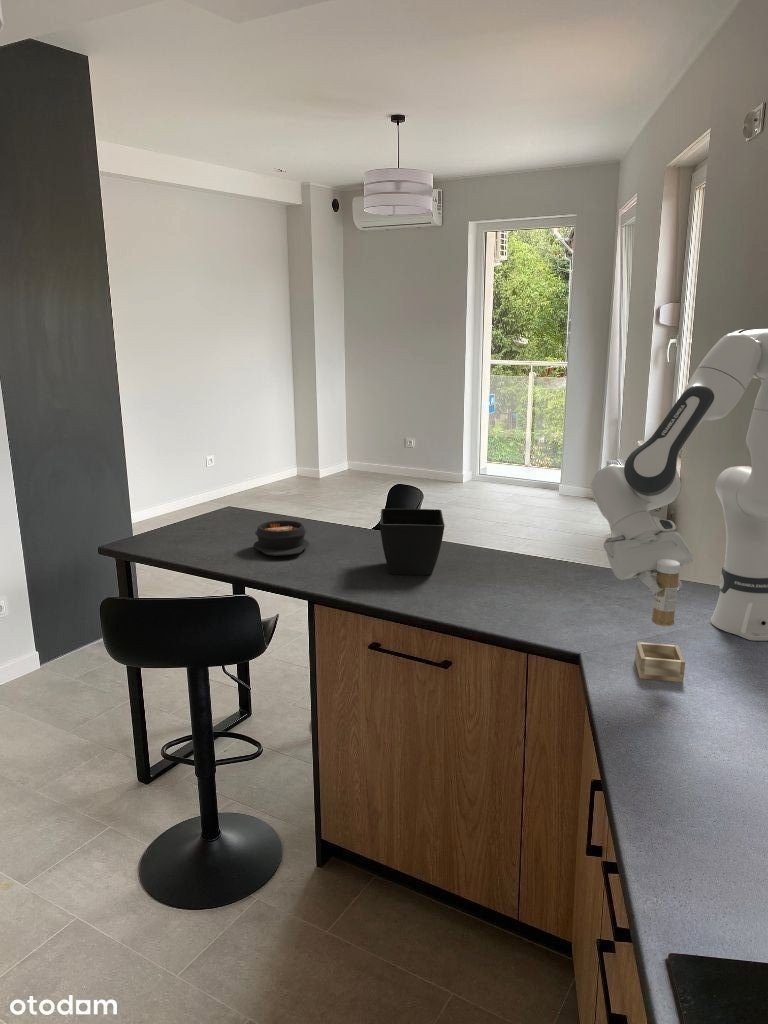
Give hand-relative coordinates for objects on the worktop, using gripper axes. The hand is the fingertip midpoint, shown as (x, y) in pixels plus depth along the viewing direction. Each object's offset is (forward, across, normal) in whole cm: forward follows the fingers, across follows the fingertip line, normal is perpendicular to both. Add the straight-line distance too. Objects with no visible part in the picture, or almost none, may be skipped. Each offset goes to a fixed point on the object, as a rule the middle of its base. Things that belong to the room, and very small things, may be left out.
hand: (668, 590), depth 151 cm
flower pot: (-48, -12, +74) cm, 89 cm away
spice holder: (+13, 0, +14) cm, 19 cm away
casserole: (-74, -40, +101) cm, 132 cm away
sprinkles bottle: (+5, 0, +6) cm, 8 cm away
